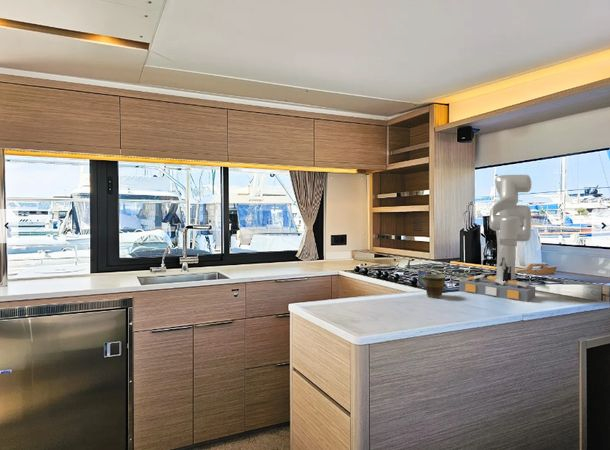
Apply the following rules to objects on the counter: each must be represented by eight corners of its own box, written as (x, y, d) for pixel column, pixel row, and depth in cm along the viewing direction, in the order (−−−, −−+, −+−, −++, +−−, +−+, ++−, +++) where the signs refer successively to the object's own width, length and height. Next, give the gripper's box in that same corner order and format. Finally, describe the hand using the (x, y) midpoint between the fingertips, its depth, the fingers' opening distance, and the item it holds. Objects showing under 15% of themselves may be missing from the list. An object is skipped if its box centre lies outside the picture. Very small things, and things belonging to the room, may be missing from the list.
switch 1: (470, 280, 218) (469, 277, 219) (485, 277, 213) (484, 274, 213) (467, 281, 216) (466, 278, 216) (482, 278, 210) (481, 275, 210)
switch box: (468, 286, 223) (469, 275, 223) (535, 297, 201) (535, 283, 201) (458, 291, 214) (458, 278, 214) (526, 302, 192) (527, 288, 192)
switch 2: (489, 278, 212) (490, 275, 211) (505, 284, 206) (506, 281, 206) (486, 279, 209) (487, 276, 208) (502, 286, 204) (503, 283, 203)
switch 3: (510, 282, 205) (510, 279, 204) (528, 286, 199) (528, 283, 199) (507, 283, 202) (508, 280, 202) (525, 288, 196) (525, 284, 196)
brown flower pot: (442, 294, 208) (442, 274, 207) (447, 299, 198) (447, 278, 198) (415, 293, 209) (415, 273, 209) (419, 298, 200) (419, 277, 199)
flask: (416, 285, 227) (416, 266, 226) (420, 285, 228) (420, 265, 228) (428, 289, 219) (429, 268, 218) (433, 288, 220) (433, 268, 219)
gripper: (505, 240, 210) (504, 277, 211) (493, 243, 200) (492, 281, 201) (521, 242, 205) (520, 279, 206) (510, 244, 194) (509, 284, 196)
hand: (506, 280), depth 204 cm, fingers closed
